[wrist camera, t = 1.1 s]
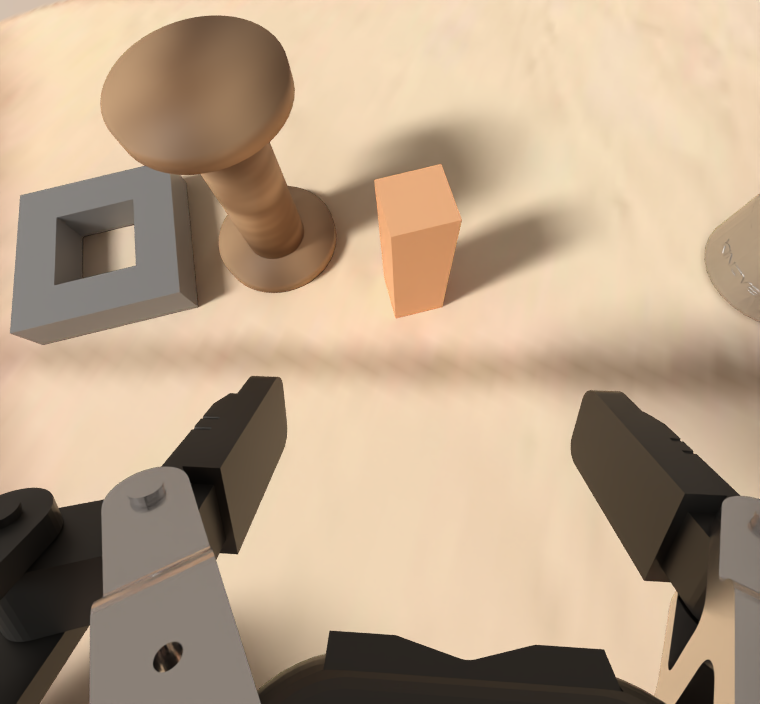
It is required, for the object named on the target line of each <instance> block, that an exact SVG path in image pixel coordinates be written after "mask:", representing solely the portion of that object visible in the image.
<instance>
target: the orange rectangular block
mask: <svg viewBox="0 0 760 704" xmlns="http://www.w3.org/2000/svg"><path fill="white" fill-rule="evenodd" d="M374 182H375V192H376V202H377V211H378V221H379V231H380V241H381V250H382V260H383V270H384V278H385V282H386V285H387V289H388V293H389V296H390V300H391V304H392V307H393V311H394V314H395V318H399V317H403V316H407V315H411V314H416V313H420V312H424V311H428V310H432V309H436V308H440V307H442V306H443V301H444V297H445V292H446V288H447V284H448V279H449V275H450V270H451V266H452V261H453V257H454V253H455V248H456V244H457V239H458V235H459V230H460V226H461V222H462V219H461V216H460V213H459V211H458V208H457V205H456V203H455V200H454V197H453V194H452V192H451V189H450V186H449V184H448V181H447V178H446V175H445V173H444V170H443V167H442V164H438V165H434V166H430V167H426V168H421V169H417V170H413V171H409V172H405V173H401V174H396V175H392V176H388V177H384V178H380V179H376V180H374Z"/></svg>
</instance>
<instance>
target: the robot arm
mask: <svg viewBox="0 0 760 704" xmlns="http://www.w3.org/2000/svg"><path fill="white" fill-rule="evenodd" d="M705 264H706V269H707V273H708V275H709V277H710V279H711V281H712V284H713V285H714V286H715V288H716V289H717V291H718V292H719V293H720V295H721V296H722V297H723V298H724V299H725V300H726V301H727V302H728V303H729V304H730V305H731V306H733V307H734V308H736V309H737V310H739V311H740V312H741V313H743V314H744V315H746V316H748V317H750V318H752V319H754V320H757V321H759V322H760V194H758V195H757V196H756V197H755V198H753V199H752V200H751V201H750V202H748V203H747V204H746V205H745V206H743V207H742V208H741V209H740V210H738V211H737V212H736V213H735V214H733V215H732V216H731V217H729V218H728V219H727V220H726V221H724V222H723V223H722V224H721V225H720V226H718V227H717V228H716V229H715V230H714V231H713V233H712V234H711V236H710V237H709V239H708V242H707V245H706V247H705ZM286 438H287V420H286V410H285V400H284V391H283V383H282V380H281V378H280V377H264V376H251V377H250V378H249V379H248V380H247V382H246V383H245V384H244V386H243V387H242V388H241V390H240V391H239V392H238V393H237V394H234V393H230V394H228V395H227V396H225V397H223V398H222V399H220V400H219V401H217V402H215V403H214V404H213V405H212V406H211V407H210V409H209V410H208V411H207V412H206V413H205V415H204V416H203V419H200V421H199V422H198V423H197V424H196V425H195V428H194V430H193V429H192V430H191V431H190V433H189V434H188V435H187V436H186V438H185V439H184V440H183V441H182V442H181V444H180V445H179V446H178V447H177V448H176V450H175V451H174V452H173V453H172V454H171V456H170V457H169V458H168V459H167V460H166V462H165V463H164V464H163V465H162V466H161V467H156V468H151V469H147V470H144V471H141V472H138V473H136V474H134V475H132V476H130V477H128V478H126V479H125V480H123V481H122V482H120V483H119V484H117V485H116V486H115V487H114V488H113V489H112V490H111V491H110V492H109V493H108V494H107V496H106V497H105V499H104V500H100V501H94V502H89V503H83V504H78V505H72V506H67V507H62V508H58V506H57V504H56V502H55V499H54V497H53V495H52V494H51V493H50V492H49V491H47V490H45V489H42V488H26V489H19V490H15V491H11V492H8V493H5V494H2V495H0V704H39V703H40V702H41V700H42V699H43V697H44V696H45V694H46V692H47V691H48V689H49V688H50V686H51V685H52V683H53V681H54V680H55V678H56V677H57V675H58V674H59V672H60V671H61V669H62V667H63V666H64V664H65V663H66V661H67V660H68V658H69V656H70V655H71V653H72V652H73V650H74V649H75V647H76V646H77V644H78V642H79V641H80V639H81V638H82V636H83V635H84V633H85V631H86V630H87V628H88V627H89V625H90V699H89V704H760V499H757V498H752V497H747V496H740V495H739V494H738V493H737V492H736V491H735V490H734V489H733V488H732V487H731V486H730V485H729V484H728V483H726V482H725V481H724V480H723V479H722V478H721V477H720V476H719V475H718V474H717V473H716V472H715V471H714V470H713V469H712V468H711V467H710V466H709V465H707V464H706V463H705V462H704V461H703V460H702V459H701V458H700V457H699V456H698V455H697V454H693V450H692V449H691V448H690V447H688V446H687V445H686V444H685V443H684V442H681V441H680V438H679V437H678V436H677V435H676V434H675V433H674V432H673V431H672V430H671V429H670V428H668V427H667V426H666V425H665V424H664V423H662V422H660V421H659V420H657V419H655V418H654V417H652V416H650V415H648V414H647V413H645V412H642V411H641V410H640V409H639V408H638V407H637V406H636V405H635V404H634V403H633V402H632V401H631V400H630V399H629V398H628V397H627V396H626V395H625V394H624V393H622V392H618V391H593V390H590V391H587V392H586V393H585V395H584V397H583V399H582V403H581V406H580V410H579V414H578V417H577V421H576V424H575V428H574V432H573V435H572V439H571V455H572V459H573V461H574V464H575V465H576V467H577V469H578V470H579V472H580V474H581V475H582V477H583V479H584V481H585V482H586V484H587V486H588V487H589V489H590V491H591V492H592V494H593V496H594V497H595V499H596V501H597V502H598V504H599V506H600V507H601V509H602V511H603V512H604V514H605V516H606V517H607V519H608V521H609V522H610V524H611V526H612V528H613V529H614V531H615V533H616V534H617V536H618V538H619V539H620V541H621V543H622V544H623V546H624V548H625V549H626V551H627V553H628V554H629V556H630V558H631V559H632V561H633V563H634V564H635V566H636V568H637V569H638V571H639V573H640V575H641V576H642V578H643V580H644V581H658V582H671V583H672V585H673V586H674V588H675V589H676V591H675V593H674V595H673V597H672V599H671V602H670V607H669V614H668V620H667V627H666V633H665V640H664V646H663V653H662V659H661V666H660V672H659V678H658V683H657V687H656V691H655V694H654V696H653V695H651V694H650V693H648V692H646V691H644V690H643V689H641V688H639V687H637V686H635V685H632V684H630V683H628V682H626V681H624V680H622V679H619V678H616V677H615V674H614V672H613V670H612V667H611V665H610V663H609V660H608V658H607V656H606V653H605V651H604V650H602V649H588V648H573V647H559V646H544V645H533V646H528V647H524V648H520V649H516V650H512V651H508V652H504V653H500V654H496V655H492V656H488V657H484V658H480V659H476V660H463V659H460V658H457V657H454V656H451V655H449V654H446V653H443V652H440V651H437V650H435V649H432V648H429V647H426V646H424V645H421V644H418V643H415V642H413V641H410V640H407V639H404V638H402V637H399V636H396V635H384V634H370V633H355V632H341V631H330V632H329V638H328V645H327V651H326V654H324V655H320V656H316V657H313V658H310V659H308V660H305V661H303V662H300V663H298V664H296V665H294V666H292V667H290V668H288V669H286V670H285V671H283V672H281V673H280V674H278V675H277V676H275V677H274V678H273V679H271V680H270V681H268V682H267V683H265V684H264V685H263V686H262V687H261V688H260V689H259V690H256V687H255V683H254V680H253V677H252V674H251V671H250V667H249V664H248V661H247V658H246V655H245V651H244V648H243V645H242V642H241V639H240V635H239V632H238V629H237V626H236V623H235V620H234V616H233V613H232V610H231V607H230V604H229V600H228V597H227V594H226V591H225V588H224V584H223V581H222V578H221V575H220V572H219V568H218V565H217V562H216V559H217V557H218V555H219V553H227V554H238V553H239V551H240V548H241V546H242V544H243V541H244V539H245V537H246V535H247V532H248V530H249V528H250V525H251V523H252V521H253V518H254V516H255V514H256V512H257V509H258V507H259V505H260V502H261V500H262V498H263V496H264V493H265V491H266V489H267V486H268V484H269V482H270V479H271V477H272V475H273V473H274V470H275V468H276V466H277V463H278V461H279V459H280V457H281V454H282V452H283V450H284V447H285V443H286Z"/></svg>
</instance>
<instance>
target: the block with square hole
mask: <svg viewBox="0 0 760 704" xmlns="http://www.w3.org/2000/svg"><path fill="white" fill-rule="evenodd" d="M129 225H134V229H135V254H136V266H132V267H128V268H124V269H120V270H116V271H112V272H108V273H103V274H99V275H95V276H91V277H87V278H83V279H82V255H83V237H84V236H88V235H92V234H96V233H100V232H104V231H109V230H113V229H117V228H121V227H125V226H129ZM196 307H198V301H197V290H196V280H195V269H194V259H193V249H192V238H191V228H190V217H189V207H188V197H187V186H186V182H185V181H184V179H183V178H182V177H181V175H176V174H169V173H164V172H160V171H157V170H153V169H151V168H149V167H147V166H142V167H138V168H134V169H130V170H125V171H121V172H117V173H113V174H109V175H104V176H100V177H96V178H92V179H87V180H83V181H79V182H75V183H71V184H66V185H62V186H58V187H54V188H50V189H45V190H41V191H37V192H33V193H29V194H24V195H20V206H19V220H18V233H17V247H16V260H15V274H14V287H13V301H12V314H11V328H10V333H11V334H13V335H16V336H19V337H22V338H25V339H27V340H30V341H33V342H36V343H39V344H41V345H44V344H49V343H53V342H57V341H61V340H65V339H69V338H73V337H77V336H81V335H85V334H90V333H94V332H98V331H102V330H106V329H110V328H114V327H118V326H122V325H127V324H131V323H135V322H139V321H143V320H147V319H151V318H155V317H159V316H163V315H168V314H172V313H176V312H180V311H184V310H188V309H192V308H196Z"/></svg>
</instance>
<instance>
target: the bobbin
mask: <svg viewBox="0 0 760 704" xmlns="http://www.w3.org/2000/svg"><path fill="white" fill-rule="evenodd" d="M294 92H295V88H294V81H293V77H292V73H291V70H290V66H289V63H288V59H287V56H286V53H285V51H284V49H283V47H282V45H281V43H280V42H279V41H278V40H277V39H276V37H275V36H274V35H272V34H271V33H270V32H269V31H268V30H266V29H265V28H263V27H262V26H260V25H258V24H255V23H253V22H251V21H248V20H245V19H241V18H236V17H230V16H202V17H195V18H190V19H185V20H182V21H178V22H175V23H172V24H169V25H167V26H164V27H162V28H160V29H158V30H156V31H154V32H152V33H150V34H148V35H147V36H145V37H143V38H142V39H141V40H139V41H138V42H136V43H135V44H134V45H133V46H131V47H130V48H129V49H128V50H127V51H126V52H125V53H124V54H123V55H122V56H121V57H120V58H119V59H118V60H117V62H116V63H115V64H114V66H113V67H112V69H111V70H110V72H109V74H108V76H107V78H106V80H105V83H104V85H103V89H102V93H101V102H100V104H101V113H102V116H103V120H104V122H105V124H106V126H107V128H108V130H109V131H110V132H111V133H112V135H113V136H114V137H115V138H116V139H117V141H118V142H119V143H120V144H121V145H122V146H123V148H124V149H125V150H126V151H127V152H128V153H129V154H130V155H131V156H132V157H133V158H134V159H135V160H136V161H138V162H140V163H141V164H143V165H144V166H147V167H149V168H151V169H153V170H157V171H160V172H164V173H169V174H176V175H195V174H201V176H202V177H203V179H204V180H205V182H206V183H207V185H208V186H209V187H210V189H211V190H212V192H213V193H214V195H215V196H216V198H217V199H218V201H219V202H220V204H221V205H222V207H223V208H224V210H225V211H226V212H227V214H228V215H227V216H226V218H225V220H224V222H223V224H222V227H221V230H220V234H219V251H220V255H221V258H222V260H223V262H224V264H225V266H226V267H227V268H228V269H229V271H230V272H231V273H232V274H233V275H234V276H235V278H236V279H238V280H239V281H240V282H241V283H243V284H244V285H245V286H247V287H249V288H252V289H254V290H257V291H262V292H269V293H278V292H286V291H290V290H294V289H297V288H299V287H301V286H304V285H305V284H307V283H309V282H310V281H312V280H313V279H314V278H316V277H317V276H318V275H319V274H320V273H321V272H322V271H323V270H324V269H325V267H326V266H327V265H328V263H329V261H330V260H331V258H332V255H333V253H334V249H335V245H336V231H335V226H334V222H333V219H332V216H331V213H330V211H329V209H328V208H327V206H326V205H325V204H324V202H323V201H322V200H321V199H320V198H318V197H317V196H316V195H314V194H312V193H311V192H309V191H307V190H304V189H301V188H297V187H292V186H287V184H286V181H285V179H284V176H283V174H282V171H281V169H280V167H279V164H278V162H277V159H276V157H275V154H274V152H273V149H272V147H271V144H270V141H271V140H272V139H273V138H274V137H275V136H276V135H277V134H278V132H279V131H280V130H281V128H282V127H283V126H284V124H285V122H286V120H287V119H288V117H289V114H290V112H291V109H292V106H293V101H294Z"/></svg>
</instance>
